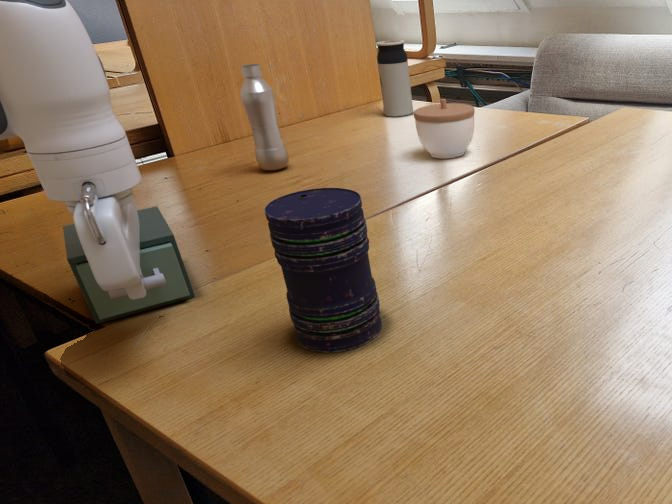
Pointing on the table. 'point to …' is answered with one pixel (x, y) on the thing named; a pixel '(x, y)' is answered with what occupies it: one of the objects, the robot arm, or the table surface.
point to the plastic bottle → (263, 119)
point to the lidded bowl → (445, 128)
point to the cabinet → (150, 234)
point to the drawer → (157, 274)
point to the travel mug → (394, 78)
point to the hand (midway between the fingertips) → (138, 294)
